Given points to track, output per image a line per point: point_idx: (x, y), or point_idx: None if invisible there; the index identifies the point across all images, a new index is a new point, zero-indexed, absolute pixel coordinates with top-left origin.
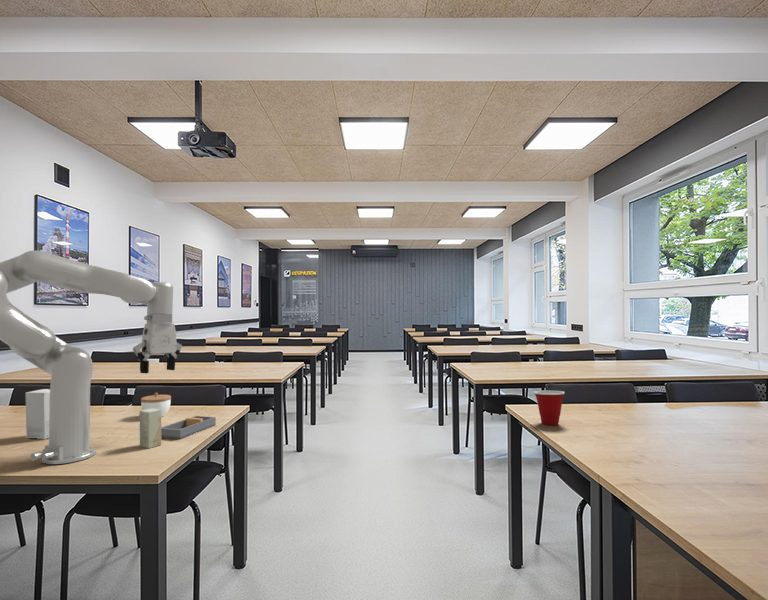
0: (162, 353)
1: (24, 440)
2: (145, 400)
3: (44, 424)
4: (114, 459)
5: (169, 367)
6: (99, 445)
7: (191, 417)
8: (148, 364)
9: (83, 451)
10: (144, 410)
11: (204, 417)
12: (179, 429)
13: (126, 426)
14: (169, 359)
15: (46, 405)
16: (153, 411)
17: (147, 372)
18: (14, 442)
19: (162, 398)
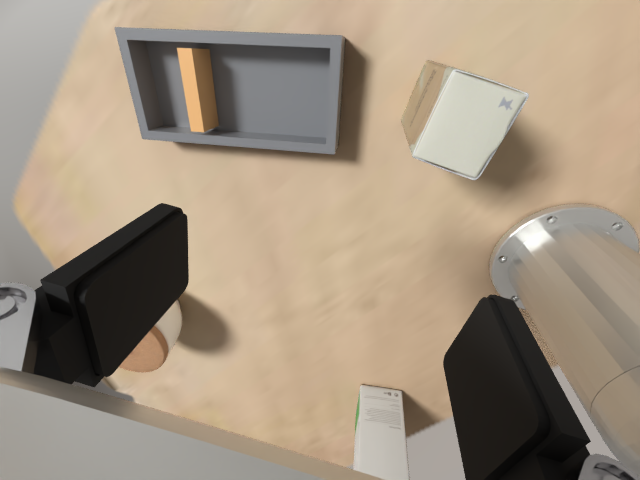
0: (332, 470)
1: (408, 414)
2: (164, 349)
3: (403, 424)
4: (604, 109)
5: (174, 268)
6: (438, 260)
7: (167, 138)
8: (535, 374)
9: (584, 227)
10: (476, 156)
11: (139, 86)
12: (334, 47)
13: (262, 309)
14: (106, 340)
15: (402, 475)
16: (499, 86)
17: (504, 298)
18: (423, 420)
19: None
